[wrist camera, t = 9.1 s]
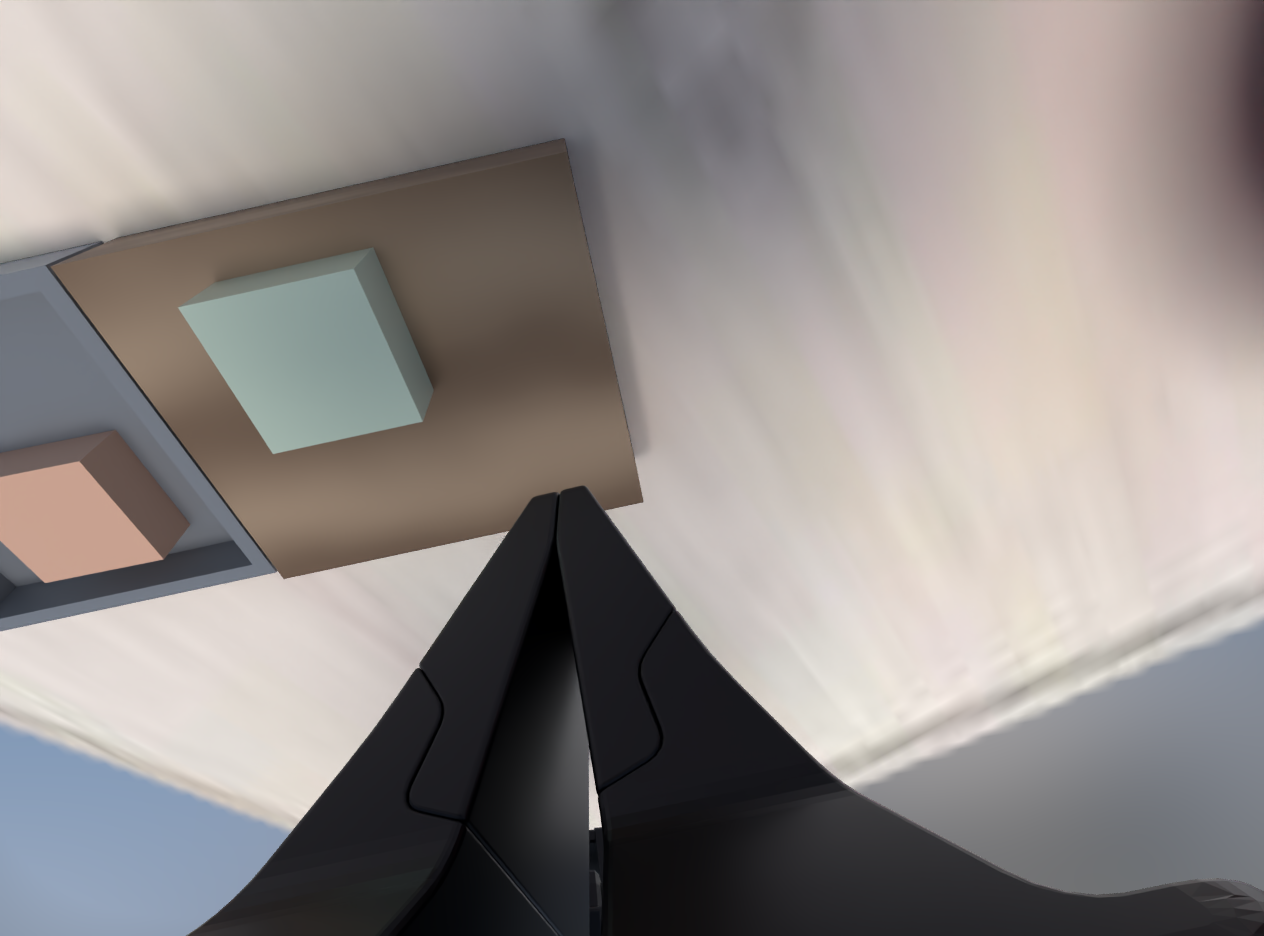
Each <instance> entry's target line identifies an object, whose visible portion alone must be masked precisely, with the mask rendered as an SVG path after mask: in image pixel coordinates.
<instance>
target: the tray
mask: <svg viewBox="0 0 1264 936" xmlns="http://www.w3.org/2000/svg"><path fill="white" fill-rule="evenodd" d="M102 244H103V243H102V241H101V242H97V243H92V244H88V245H83V246H79V247H74V248H70V249H65V250H61V251H56V252H52V253H47V254H43V255H38V256H34V257H29V258H25V259H20V260H16V261H11V262H7V263H3V264H0V453H2V452H7V451H12V450H17V449H22V448H27V447H32V446H37V445H42V444H47V443H52V442H57V441H62V440H67V439H72V438H77V437H82V436H87V435H92V434H97V433H102V432H107V431H112V430H116V431H117V432H118V433H119V435H120V436H121V437H122V438H123V440H124V441H125V442H126V444H127V445H128V446H129V447H130V449H131V450H132V451H133V452H134V454H135V455H136V456H137V457H138V459H139V460H140V461H141V463H142V464H143V465H144V466H145V468H146V469H147V470H148V471H149V473H150V474H151V475H152V476H153V478H154V479H155V480H156V482H157V483H158V484H159V485H160V487H161V488H162V489H163V490H164V492H165V493H166V494H167V495H168V497H169V498H170V499H171V500H172V502H173V503H174V504H175V506H176V507H177V508H178V509H179V511H180V512H181V513H182V514H183V516H184V517H185V518H186V519H187V521H188V522H189V523H190V526H189V527H188V528H187V530H186V531H185V532H184V534H183V535H182V536H181V538H180V539H179V540H178V542H177V543H176V544H175V545H174V547H173V548H172V549H171V551H170V552H169V553H168V555H167V556H166V557H165V559H163V560H158V561H153V562H148V563H143V564H138V565H133V566H128V567H123V568H118V569H113V570H108V571H103V572H98V573H93V574H88V575H83V576H78V577H73V578H68V579H63V580H58V581H53V582H48V583H44V582H43V581H42V580H41V579H40V578H39V577H38V576H37V575H36V574H35V573H34V572H33V571H32V570H31V569H30V568H29V567H27V566H26V565H25V564H24V563H23V562H22V561H21V560H20V559H19V558H18V557H17V556H16V555H15V554H14V553H13V552H12V551H11V550H9V549H8V548H7V547H6V546H5V545H4V544H3V543H2V542H1V541H0V631H4V630H9V629H14V628H18V627H23V626H28V625H32V624H37V623H42V622H46V621H51V620H56V619H60V618H65V617H70V616H74V615H79V614H84V613H88V612H93V611H98V610H102V609H107V608H112V607H116V606H121V605H126V604H131V603H135V602H140V601H145V600H149V599H154V598H159V597H163V596H168V595H173V594H177V593H182V592H187V591H191V590H196V589H201V588H205V587H210V586H215V585H219V584H224V583H229V582H233V581H238V580H243V579H247V578H252V577H257V576H261V575H266V574H271V573H275V572H277V569H276V568H275V566H274V565H273V564H272V562H271V561H270V560H269V558H268V557H267V556H266V554H265V553H264V552H263V550H262V549H261V548H260V546H259V545H258V544H257V542H256V541H255V540H254V538H253V537H252V536H251V534H250V533H249V532H248V530H247V529H246V528H245V526H244V525H243V524H242V522H241V521H240V520H239V518H238V517H237V516H236V514H235V513H234V512H233V510H232V509H231V508H230V506H229V505H228V504H227V502H226V501H225V500H224V498H223V497H222V496H221V494H220V493H219V492H218V490H217V489H216V488H215V486H214V485H213V484H212V482H211V481H210V480H209V478H208V477H207V476H206V474H205V473H204V472H203V470H202V469H201V467H200V466H199V465H198V463H197V462H196V461H195V459H194V458H193V457H192V455H191V454H190V453H189V451H188V450H187V449H186V447H185V446H184V445H183V443H182V442H181V441H180V439H179V438H178V437H177V435H176V434H175V433H174V431H173V430H172V429H171V427H170V426H169V425H168V423H167V422H166V421H165V419H164V418H163V417H162V415H161V414H160V413H159V411H158V410H157V409H156V407H155V406H154V405H153V403H152V402H151V401H150V399H149V398H148V397H147V395H146V394H145V393H144V391H143V390H142V389H141V387H140V386H139V385H138V383H137V382H136V381H135V379H134V378H133V377H132V375H131V374H130V373H129V371H128V370H127V369H126V367H125V366H124V365H123V363H122V362H121V361H120V359H119V358H118V356H117V355H116V354H115V352H114V351H113V350H112V348H111V347H110V346H109V344H108V343H107V342H106V340H105V339H104V338H103V336H102V335H101V334H100V332H99V331H98V330H97V328H96V327H95V326H94V324H93V323H92V322H91V320H90V319H89V318H88V316H87V315H86V314H85V312H84V311H83V310H82V308H81V307H80V306H79V304H78V303H77V302H76V300H75V299H74V298H73V296H72V295H71V294H70V292H69V291H68V290H67V288H66V287H65V286H64V284H63V283H62V282H61V280H60V279H59V278H58V276H57V275H56V274H55V272H54V271H53V270H52V268H51V267H50V266H53V265H55V264H57V263H60V262H62V261H64V260H67V259H69V258H71V257H74V256H76V255H78V254H81V253H83V252H86V251H88V250H90V249H93V248H95V247H97V246H100V245H102Z"/></svg>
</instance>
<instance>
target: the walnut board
mask: <svg viewBox="0 0 1264 936" xmlns="http://www.w3.org/2000/svg"><path fill="white" fill-rule="evenodd" d="M372 247H373V248H374V250H375V253H376V255H377V257H378V260H379V262H380V264H381V267H382V269H383V271H384V274H385V276H386V278H387V281H388V283H389V286H390V288H391V290H392V293H393V295H394V297H395V300H396V302H397V304H398V307H399V309H400V311H401V314H402V316H403V318H404V321H405V323H406V326H407V328H408V330H409V333H410V335H411V337H412V340H413V342H414V344H415V347H416V349H417V351H418V354H419V356H420V358H421V361H422V363H423V366H424V368H425V370H426V373H427V375H428V377H429V380H430V382H431V384H432V387H433V389H434V391H433V394H432V397H431V400H430V403H429V405H428V408H427V411H426V414H425V417H424V420H423V422H419V423H414V424H409V425H405V426H400V427H396V428H391V429H386V430H382V431H377V432H373V433H368V434H363V435H359V436H354V437H349V438H345V439H340V440H336V441H331V442H326V443H322V444H317V445H313V446H308V447H303V448H299V449H294V450H289V451H285V452H280V453H276V454H273V453H272V452H271V450H270V449H269V447H268V446H267V444H266V442H265V441H264V439H263V438H262V436H261V435H260V433H259V432H258V430H257V429H256V427H255V426H254V424H253V422H252V421H251V419H250V418H249V416H248V415H247V413H246V412H245V410H244V409H243V407H242V406H241V404H240V402H239V401H238V399H237V398H236V396H235V395H234V393H233V392H232V390H231V389H230V387H229V386H228V384H227V382H226V381H225V379H224V378H223V376H222V375H221V373H220V372H219V370H218V369H217V367H216V365H215V364H214V362H213V361H212V359H211V358H210V356H209V355H208V353H207V352H206V350H205V349H204V347H203V345H202V344H201V342H200V341H199V339H198V338H197V336H196V335H195V333H194V332H193V330H192V329H191V327H190V325H189V324H188V322H187V321H186V319H185V318H184V316H183V315H182V313H181V312H180V310H179V308H178V307H179V306H181V305H182V304H184V303H185V302H187V301H188V300H190V299H191V298H193V297H194V296H195V295H197V294H198V293H200V292H201V291H203V290H204V289H206V288H207V287H209V286H210V285H212V284H213V283H215V282H218V281H223V280H227V279H232V278H236V277H241V276H246V275H250V274H255V273H259V272H264V271H268V270H273V269H277V268H282V267H286V266H291V265H295V264H300V263H304V262H309V261H313V260H318V259H322V258H327V257H331V256H336V255H340V254H345V253H349V252H354V251H359V250H363V249H368V248H372ZM50 267H51V268H52V270H53V271H54V272H55V274H56V275H57V276H58V278H59V279H60V280H61V282H62V283H63V284H64V286H65V287H66V288H67V290H68V291H69V292H70V294H71V295H72V296H73V298H74V299H75V300H76V302H77V303H78V304H79V306H80V307H81V308H82V310H83V311H84V312H85V314H86V315H87V316H88V318H89V319H90V320H91V322H92V323H93V324H94V326H95V327H96V328H97V330H98V331H99V332H100V334H101V335H102V336H103V338H104V339H105V340H106V342H107V343H108V344H109V346H110V347H111V348H112V350H113V351H114V352H115V354H116V355H117V356H118V358H119V359H120V361H121V362H122V363H123V365H124V366H125V367H126V369H127V370H128V371H129V373H130V374H131V375H132V377H133V378H134V379H135V381H136V382H137V383H138V385H139V386H140V387H141V389H142V390H143V391H144V393H145V394H146V395H147V397H148V398H149V399H150V401H151V402H152V403H153V405H154V406H155V407H156V409H157V410H158V411H159V413H160V414H161V415H162V417H163V418H164V419H165V421H166V422H167V423H168V425H169V426H170V427H171V429H172V430H173V431H174V433H175V434H176V435H177V437H178V438H179V439H180V441H181V442H182V443H183V445H184V446H185V447H186V449H187V450H188V451H189V453H190V454H191V455H192V457H193V458H194V459H195V461H196V462H197V463H198V465H199V466H200V467H201V469H202V470H203V472H204V473H205V474H206V476H207V477H208V478H209V480H210V481H211V482H212V484H213V485H214V486H215V488H216V489H217V490H218V492H219V493H220V494H221V496H222V497H223V498H224V500H225V501H226V502H227V504H228V505H229V506H230V508H231V509H232V510H233V512H234V513H235V514H236V516H237V517H238V518H239V520H240V521H241V522H242V524H243V525H244V526H245V528H246V529H247V530H248V532H249V533H250V534H251V536H252V537H253V538H254V540H255V541H256V542H257V544H258V545H259V546H260V548H261V549H262V550H263V552H264V553H265V554H266V556H267V557H268V558H269V560H270V561H271V562H272V564H273V565H274V566H275V568H276V569H277V570H278V572H279V573H280V574H281V576H282V577H283V578H284V579H286V578H291V577H295V576H300V575H305V574H309V573H314V572H319V571H323V570H328V569H333V568H337V567H342V566H347V565H351V564H356V563H361V562H366V561H370V560H375V559H380V558H384V557H389V556H394V555H398V554H403V553H408V552H412V551H417V550H422V549H426V548H431V547H436V546H440V545H445V544H450V543H454V542H459V541H464V540H468V539H473V538H478V537H482V536H487V535H492V534H497V533H501V532H506V531H510V529H511V528H512V526H513V525H514V523H515V522H516V520H517V519H518V518H519V516H520V515H521V513H522V512H523V510H524V509H525V507H526V506H527V504H528V503H529V501H530V500H531V499H532V498H533V497H535V496H538V495H543V494H547V493H551V492H558V493H559V494H560V492H561V491H562V490H564V489H569V488H573V487H577V486H581V485H584V486H586V487H587V488H588V489H589V490H590V492H591V493H592V494H593V496H594V497H595V498H596V500H597V501H598V502H599V504H600V505H601V507H602V508H603V509H604V510H609V509H613V508H618V507H623V506H628V505H632V504H637V503H642V502H643V497H642V492H641V488H640V483H639V478H638V473H637V468H636V463H635V458H634V454H633V449H632V445H631V440H630V435H629V431H628V426H627V422H626V417H625V413H624V408H623V404H622V399H621V394H620V390H619V385H618V381H617V376H616V372H615V367H614V363H613V358H612V353H611V349H610V344H609V340H608V335H607V331H606V326H605V321H604V317H603V312H602V308H601V303H600V299H599V294H598V290H597V285H596V280H595V276H594V271H593V267H592V262H591V258H590V253H589V249H588V244H587V239H586V235H585V230H584V226H583V221H582V217H581V212H580V208H579V203H578V198H577V194H576V189H575V185H574V180H573V176H572V171H571V166H570V162H569V157H568V153H567V148H566V144H565V139H564V138H563V139H559V140H554V141H550V142H546V143H541V144H537V145H532V146H528V147H523V148H519V149H514V150H510V151H505V152H501V153H496V154H492V155H487V156H483V157H478V158H474V159H469V160H465V161H460V162H456V163H451V164H447V165H442V166H438V167H433V168H429V169H424V170H420V171H415V172H411V173H406V174H402V175H397V176H393V177H388V178H384V179H379V180H375V181H370V182H366V183H362V184H357V185H353V186H348V187H344V188H339V189H335V190H330V191H326V192H321V193H317V194H312V195H308V196H303V197H299V198H294V199H290V200H285V201H281V202H276V203H272V204H267V205H263V206H258V207H254V208H249V209H245V210H240V211H236V212H231V213H227V214H222V215H218V216H213V217H209V218H204V219H200V220H195V221H191V222H187V223H182V224H178V225H173V226H169V227H164V228H160V229H155V230H151V231H146V232H142V233H137V234H133V235H128V236H124V237H119V238H116V239H114V240H111V241H109V242H107V243H104V244H102V245H100V246H97V247H95V248H93V249H90V250H88V251H86V252H83V253H81V254H78V255H76V256H74V257H71V258H69V259H67V260H64V261H62V262H60V263H57V264H55V265H53V266H50Z"/></svg>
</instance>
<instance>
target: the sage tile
mask: <svg viewBox="0 0 1264 936" xmlns="http://www.w3.org/2000/svg"><path fill="white" fill-rule="evenodd" d="M178 308H179V310H180V312H181V313H182V315H183V316H184V318H185V319H186V321H187V322H188V324H189V325H190V327H191V329H192V330H193V332H194V333H195V335H196V336H197V338H198V339H199V341H200V342H201V344H202V345H203V347H204V349H205V350H206V352H207V353H208V355H209V356H210V358H211V359H212V361H213V362H214V364H215V365H216V367H217V369H218V370H219V372H220V373H221V375H222V376H223V378H224V379H225V381H226V382H227V384H228V386H229V387H230V389H231V390H232V392H233V393H234V395H235V396H236V398H237V399H238V401H239V402H240V404H241V406H242V407H243V409H244V410H245V412H246V413H247V415H248V416H249V418H250V419H251V421H252V422H253V424H254V426H255V427H256V429H257V430H258V432H259V433H260V435H261V436H262V438H263V439H264V441H265V442H266V444H267V446H268V447H269V449H270V450H271V452H272V453H273V454H276V453H280V452H285V451H289V450H294V449H299V448H303V447H308V446H313V445H317V444H322V443H326V442H331V441H336V440H340V439H345V438H349V437H354V436H359V435H363V434H368V433H373V432H377V431H382V430H386V429H391V428H396V427H400V426H405V425H409V424H414V423H419V422H423V420H424V417H425V414H426V411H427V408H428V405H429V403H430V400H431V397H432V394H433V391H434V389H433V387H432V384H431V382H430V380H429V377H428V375H427V373H426V370H425V368H424V366H423V363H422V361H421V358H420V356H419V354H418V351H417V349H416V347H415V344H414V342H413V340H412V337H411V335H410V333H409V330H408V328H407V326H406V323H405V321H404V318H403V316H402V314H401V311H400V309H399V307H398V304H397V302H396V300H395V297H394V295H393V293H392V290H391V288H390V286H389V283H388V281H387V278H386V276H385V274H384V271H383V269H382V267H381V264H380V262H379V260H378V257H377V255H376V253H375V250H374V248H373V247H372V248H368V249H363V250H359V251H354V252H349V253H345V254H340V255H336V256H331V257H327V258H322V259H318V260H313V261H309V262H304V263H300V264H295V265H291V266H286V267H282V268H277V269H273V270H268V271H264V272H259V273H255V274H250V275H246V276H241V277H236V278H232V279H227V280H223V281H218V282H215V283H213V284H212V285H210V286H209V287H207V288H206V289H204V290H203V291H201V292H200V293H198V294H197V295H195V296H194V297H193V298H191V299H190V300H188V301H187V302H185V303H184V304H182V305H181V306H179V307H178Z"/></svg>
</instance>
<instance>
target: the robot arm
mask: <svg viewBox="0 0 1264 936" xmlns="http://www.w3.org/2000/svg"><path fill="white" fill-rule="evenodd" d="M419 666H420V668H421V669H420V668H417V669H415V671H414V672H413V674H412V675H411V677H410V678H409V680H408V681H407V683H406V684H405V685H404V687H403V688H402V690H401V691H400V693H399V694H398V696H397V697H396V698H395V700H394V701H393V703H392V704H391V705H390V707H389V708H388V710H387V711H386V712H385V714H384V715H383V717H382V718H381V719H380V721H379V722H378V724H377V725H376V726H375V728H374V729H373V730H372V732H371V733H370V734H369V735H368V737H367V738H366V739H365V741H364V742H363V743H362V744H361V746H360V747H359V748H358V750H357V751H356V752H355V753H354V755H353V756H352V757H351V759H350V760H349V761H348V762H347V764H346V765H345V766H344V768H343V769H342V770H341V771H340V772H339V774H338V775H337V776H336V777H335V779H334V780H333V781H332V782H331V784H330V785H329V786H328V787H327V789H326V790H325V791H324V792H323V793H322V795H321V796H320V797H319V798H318V800H317V801H316V802H315V803H314V805H313V806H312V807H311V808H310V810H309V811H308V812H307V813H306V814H305V816H304V817H303V818H302V819H301V821H300V822H299V823H298V824H297V826H296V827H295V828H294V829H293V831H292V832H291V833H290V834H289V835H288V837H287V838H286V839H285V840H284V842H283V843H282V844H281V845H280V847H279V848H278V849H277V850H276V852H275V853H274V854H273V855H272V856H271V858H270V859H269V860H268V861H267V863H266V864H265V865H264V866H263V867H262V868H261V870H260V871H259V872H258V873H257V875H255V877H254V878H253V879H252V880H251V881H250V882H249V883H248V884H247V885H246V886H245V887H244V889H242V890H241V891H240V893H238V894H237V896H235V897H234V899H232V900H231V901H230V902H229V903H228V904H227V905H226V906H225V907H223V908H222V909H221V910H220V911H219V912H218V913H217V914H216V915H214V916H213V917H211V918H210V919H209V920H208V921H206V922H205V923H204V924H202V925H201V926H200V927H198V928H197V929H195V930H194V931H193V932H191V933H189V934H188V935H186V936H1264V891H1262V890H1260V889H1258V888H1255V887H1254V886H1252V885H1249V884H1247V883H1244V882H1241V881H1236V880H1227V879H1219V878H1216V879H1195V880H1189V881H1183V882H1176V883H1170V884H1165V885H1160V886H1155V887H1150V888H1145V889H1141V890H1135V891H1130V892H1125V893H1114V894H1101V895H1094V894H1085V893H1076V892H1067V891H1063V890H1059V889H1055V888H1052V887H1048V886H1044V885H1040V884H1037V883H1034V882H1031V881H1029V880H1027V879H1025V878H1022V877H1020V876H1018V875H1015V874H1013V873H1011V872H1008V871H1007V870H1005V869H1003V868H1001V867H999V866H997V865H995V864H993V863H991V862H989V861H988V860H986V859H983V858H982V857H980V856H978V855H976V854H974V853H972V852H970V851H968V850H966V849H965V848H963V847H961V846H959V845H957V844H955V843H953V842H951V841H950V840H948V839H946V838H944V837H942V836H940V835H938V834H936V833H934V832H932V831H931V830H928V829H927V828H925V827H923V826H921V825H919V824H917V823H915V822H913V821H911V820H910V819H908V818H906V817H904V816H902V815H900V814H898V813H896V812H894V811H893V810H891V809H889V808H887V807H885V806H883V805H881V804H879V803H877V802H875V801H874V800H872V799H870V798H868V797H866V796H864V795H862V794H861V793H859V792H857V791H855V790H854V789H852V788H851V787H849V786H848V785H846V784H845V783H843V782H842V781H841V780H840V779H838V778H837V777H836V776H834V775H833V774H832V773H831V772H829V771H828V770H827V769H826V768H825V767H824V766H823V765H821V764H820V763H819V762H818V761H817V760H816V759H815V758H814V757H813V756H812V755H811V754H809V753H808V752H807V751H806V750H805V749H804V748H803V747H802V746H801V745H800V744H799V743H798V742H797V741H796V740H795V739H794V738H793V737H792V736H791V735H790V734H789V733H788V732H787V731H786V730H785V729H784V728H783V727H782V726H781V725H780V724H779V723H778V722H777V721H776V720H775V719H774V718H773V717H772V716H771V715H770V714H769V713H768V712H767V711H766V710H765V709H764V708H763V707H762V706H761V705H760V704H759V703H758V702H757V701H756V700H755V699H754V698H753V697H752V696H751V695H750V694H749V693H748V692H747V691H746V690H745V689H744V688H743V687H742V686H741V685H740V684H739V683H738V682H737V681H736V680H735V679H734V678H733V677H732V676H731V675H730V674H729V672H728V671H727V670H726V669H725V668H724V667H723V666H722V665H721V664H720V663H719V662H718V661H717V660H716V658H715V657H714V656H713V655H712V654H711V653H710V652H709V650H708V649H707V648H706V647H705V645H704V644H703V643H702V642H701V640H700V639H699V638H698V637H697V635H696V634H695V633H694V632H693V630H692V629H691V628H690V626H689V625H688V624H687V622H686V621H685V620H684V618H683V617H682V616H681V614H680V613H679V612H678V611H676V608H675V606H674V605H673V604H672V602H671V601H670V600H669V598H668V597H667V596H666V594H665V593H664V591H663V590H662V589H661V587H660V586H659V585H658V583H657V582H656V580H655V579H654V578H653V576H652V575H651V574H650V572H649V571H648V570H647V568H646V567H645V565H644V564H643V563H642V561H641V560H640V559H639V557H638V556H637V554H636V553H635V552H634V550H633V549H632V548H631V546H630V545H629V544H628V542H627V541H626V539H625V538H624V537H623V535H622V534H621V533H620V531H619V530H618V528H617V527H616V526H615V524H614V523H613V522H612V520H611V519H610V518H609V516H608V515H607V513H606V512H605V511H604V509H603V508H602V507H601V505H600V504H599V502H598V501H597V500H596V498H595V497H594V496H593V494H592V493H591V492H590V490H589V489H588V488H587V487H586V486H584V485H581V486H577V487H573V488H569V489H564V490H562V491H561V492H560V494H559V493H558V492H551V493H547V494H543V495H538V496H535V497H533V498H532V499H531V500H530V501H529V503H528V504H527V506H526V507H525V509H524V510H523V512H522V513H521V515H520V516H519V518H518V519H517V520H516V522H515V523H514V525H513V526H512V528H511V529H510V531H509V532H508V534H507V535H506V537H505V538H504V540H503V541H502V543H501V544H500V546H499V547H498V549H497V550H496V551H495V553H494V554H493V556H492V557H491V559H490V560H489V562H488V563H487V565H486V566H485V568H484V569H483V571H482V572H481V574H480V575H479V577H478V578H477V580H476V581H475V582H474V584H473V585H472V587H471V588H470V590H469V591H468V593H467V594H466V596H465V597H464V599H463V600H462V602H461V603H460V605H459V606H458V608H457V609H456V611H455V612H454V613H453V615H452V616H451V618H450V619H449V621H448V622H447V624H446V625H445V627H444V628H443V630H442V631H441V633H440V634H439V636H438V637H437V639H436V640H435V642H434V643H433V644H432V646H431V647H430V649H429V650H428V652H427V653H426V655H425V656H424V658H423V659H422V661H421V662H420V664H419ZM589 749H590V755H591V761H592V767H593V773H594V779H595V785H596V791H597V794H598V803H599V809H600V816H601V824H602V827H600V828H594V830H589Z"/></svg>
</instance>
